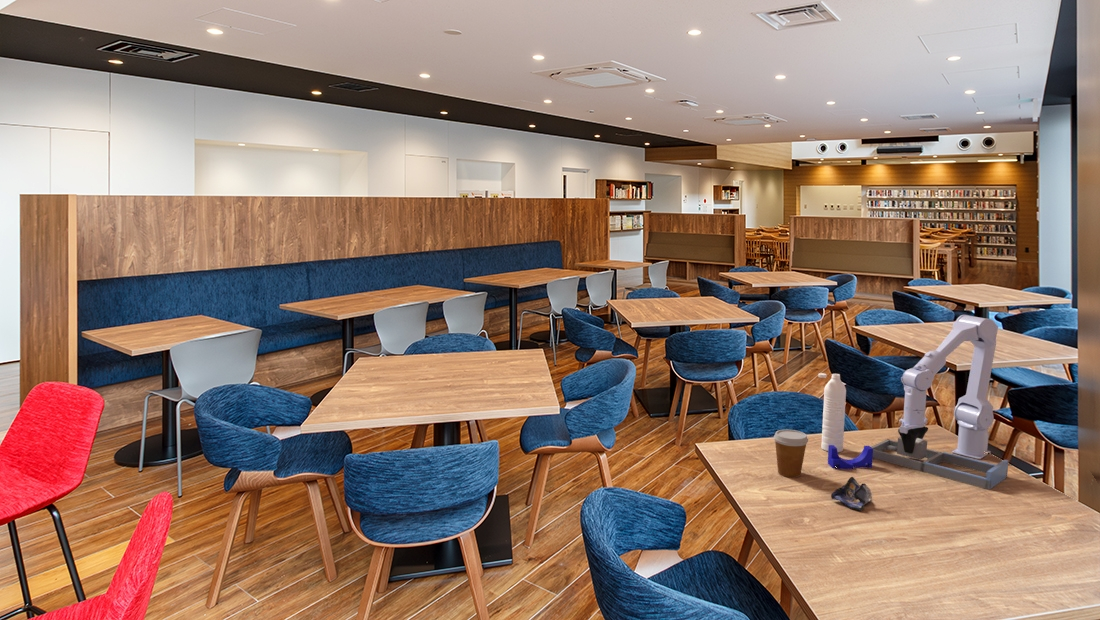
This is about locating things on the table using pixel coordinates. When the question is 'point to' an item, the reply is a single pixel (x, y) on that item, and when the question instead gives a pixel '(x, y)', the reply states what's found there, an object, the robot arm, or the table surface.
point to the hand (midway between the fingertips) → (911, 450)
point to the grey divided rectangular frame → (930, 466)
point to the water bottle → (833, 413)
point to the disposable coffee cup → (790, 451)
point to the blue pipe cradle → (859, 461)
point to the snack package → (853, 494)
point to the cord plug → (918, 451)
